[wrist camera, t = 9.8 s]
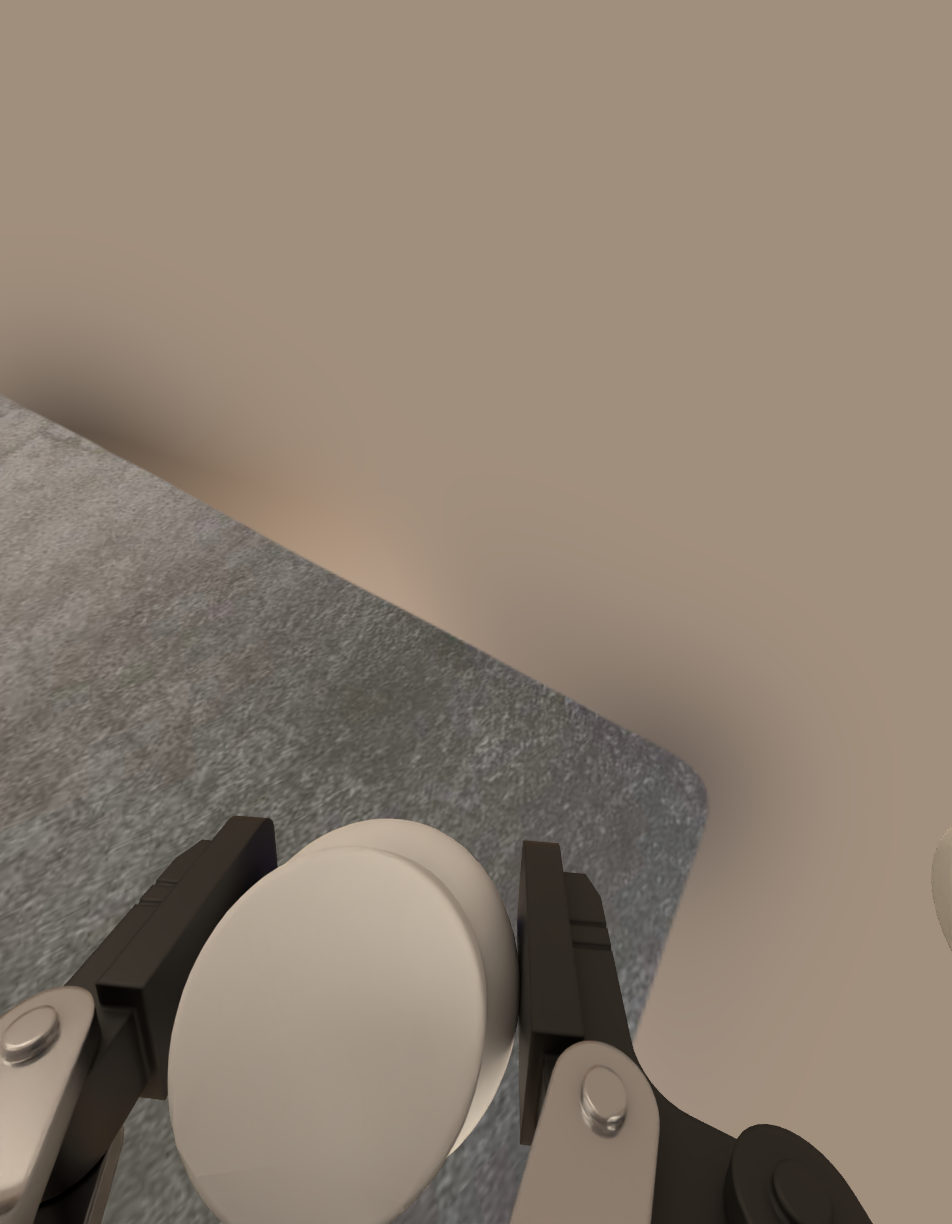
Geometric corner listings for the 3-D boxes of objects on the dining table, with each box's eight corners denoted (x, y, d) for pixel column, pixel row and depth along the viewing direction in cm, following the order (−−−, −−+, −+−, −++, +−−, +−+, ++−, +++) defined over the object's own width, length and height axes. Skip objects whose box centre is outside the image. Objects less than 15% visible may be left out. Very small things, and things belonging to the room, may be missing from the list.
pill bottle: (292, 912, 14) (62, 947, 6) (443, 804, 16) (400, 726, 8) (380, 1119, 12) (188, 1543, 4) (546, 972, 13) (628, 1093, 6)
